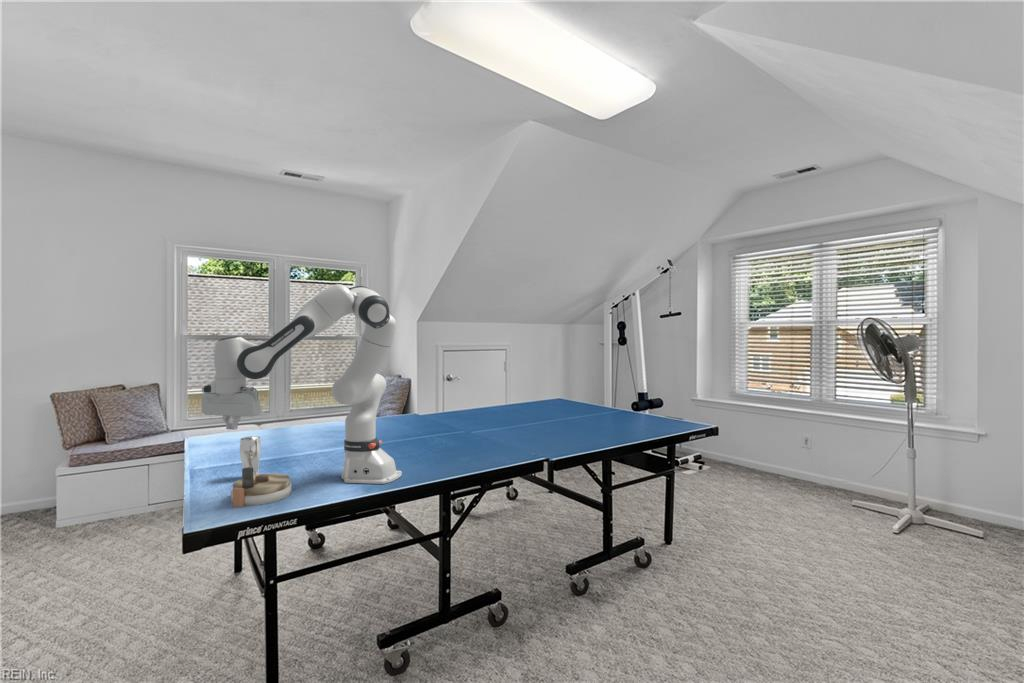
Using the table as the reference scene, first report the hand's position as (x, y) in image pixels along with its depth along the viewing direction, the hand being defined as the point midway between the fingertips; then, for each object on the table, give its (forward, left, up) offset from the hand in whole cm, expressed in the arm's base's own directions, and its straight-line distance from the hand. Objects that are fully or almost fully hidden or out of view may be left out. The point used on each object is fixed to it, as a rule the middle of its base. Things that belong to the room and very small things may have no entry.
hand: (232, 429), depth 162 cm
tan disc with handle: (-6, -6, -20) cm, 22 cm away
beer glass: (+13, -21, -24) cm, 35 cm away
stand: (-6, -6, -23) cm, 25 cm away
